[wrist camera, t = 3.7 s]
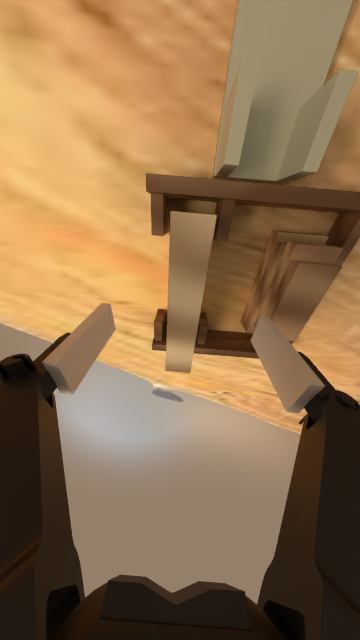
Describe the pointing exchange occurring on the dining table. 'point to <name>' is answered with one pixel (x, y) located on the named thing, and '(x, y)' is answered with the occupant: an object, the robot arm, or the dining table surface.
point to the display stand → (281, 89)
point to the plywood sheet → (186, 284)
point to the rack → (279, 259)
